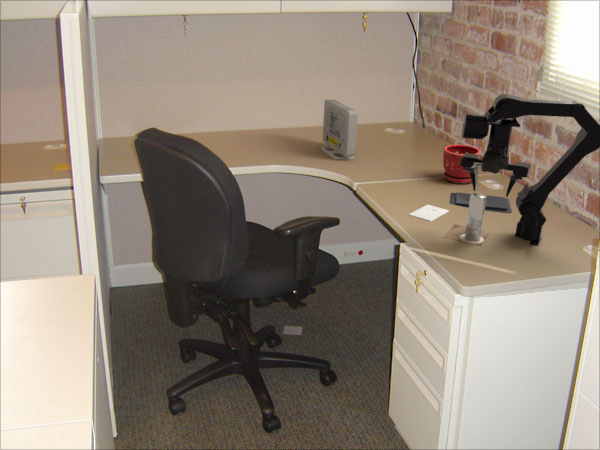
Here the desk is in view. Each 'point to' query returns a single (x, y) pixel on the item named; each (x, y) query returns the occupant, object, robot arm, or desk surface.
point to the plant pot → (457, 163)
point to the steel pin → (475, 217)
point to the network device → (339, 129)
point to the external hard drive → (428, 212)
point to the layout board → (459, 233)
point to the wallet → (491, 204)
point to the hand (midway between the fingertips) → (490, 193)
